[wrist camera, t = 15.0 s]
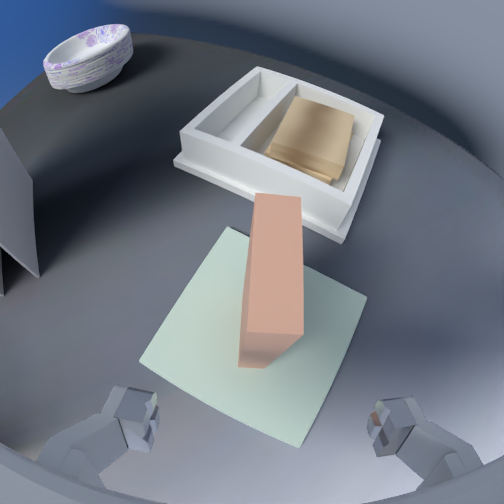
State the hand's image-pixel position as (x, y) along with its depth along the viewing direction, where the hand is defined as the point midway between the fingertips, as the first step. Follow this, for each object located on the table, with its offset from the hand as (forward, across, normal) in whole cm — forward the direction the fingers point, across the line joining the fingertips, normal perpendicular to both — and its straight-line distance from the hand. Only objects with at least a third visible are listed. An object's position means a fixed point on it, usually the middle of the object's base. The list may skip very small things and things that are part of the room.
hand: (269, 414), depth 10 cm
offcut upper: (+25, -5, -11) cm, 27 cm away
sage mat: (+13, 0, +5) cm, 14 cm away
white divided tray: (+28, -3, -10) cm, 29 cm away
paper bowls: (+40, +29, -22) cm, 54 cm away
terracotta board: (+13, 0, +4) cm, 14 cm away
